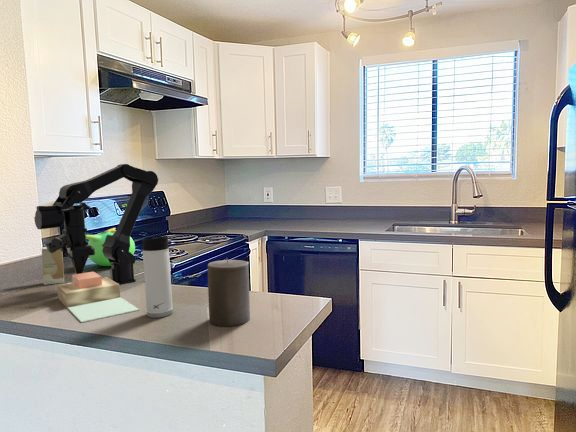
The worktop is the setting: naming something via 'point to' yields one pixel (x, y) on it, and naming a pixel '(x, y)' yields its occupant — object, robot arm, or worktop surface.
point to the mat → (102, 309)
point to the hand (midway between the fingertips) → (78, 275)
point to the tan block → (88, 293)
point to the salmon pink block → (86, 280)
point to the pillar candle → (228, 292)
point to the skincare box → (52, 266)
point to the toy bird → (97, 243)
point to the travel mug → (157, 277)
